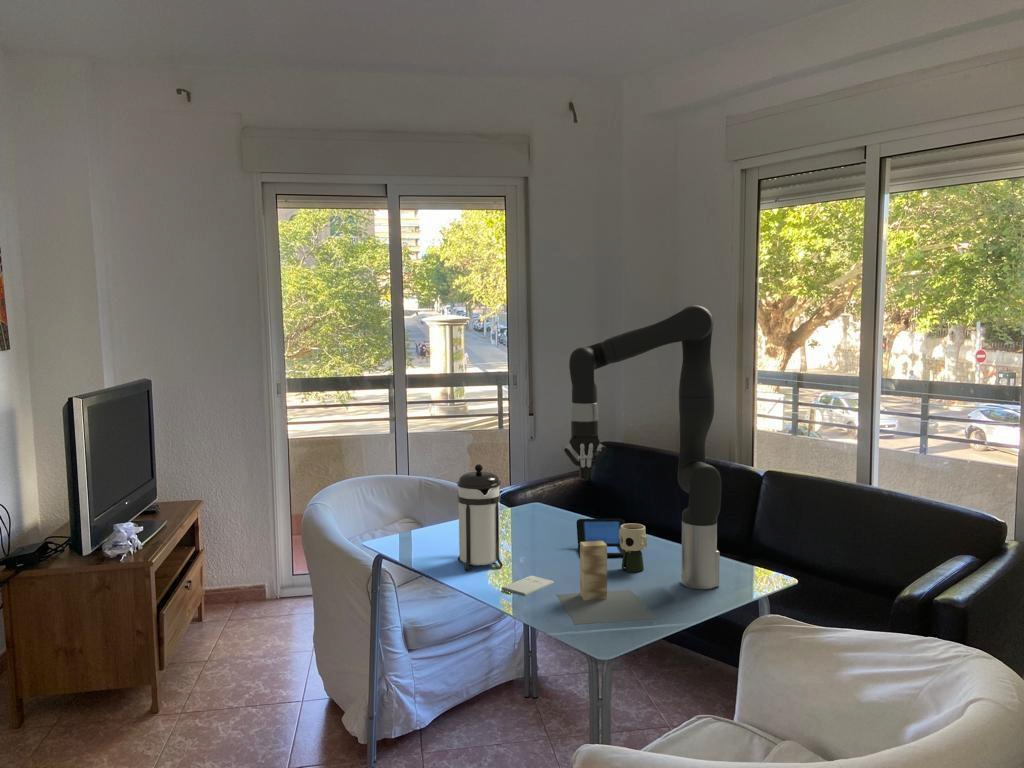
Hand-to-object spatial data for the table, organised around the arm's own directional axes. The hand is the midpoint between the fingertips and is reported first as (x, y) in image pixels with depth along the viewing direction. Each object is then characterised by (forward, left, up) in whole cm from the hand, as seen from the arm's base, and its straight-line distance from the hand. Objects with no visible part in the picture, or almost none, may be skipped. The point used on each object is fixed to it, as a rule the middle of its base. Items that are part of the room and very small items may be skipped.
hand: (584, 479), depth 208 cm
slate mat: (+2, +26, -27) cm, 37 cm away
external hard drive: (+18, +8, -28) cm, 34 cm away
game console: (-11, -20, -28) cm, 36 cm away
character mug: (-14, 0, -27) cm, 31 cm away
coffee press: (+29, -15, -27) cm, 43 cm away
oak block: (+3, +19, -27) cm, 33 cm away
